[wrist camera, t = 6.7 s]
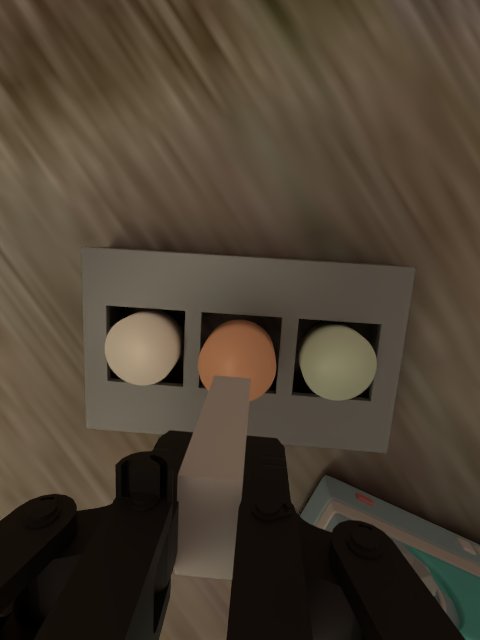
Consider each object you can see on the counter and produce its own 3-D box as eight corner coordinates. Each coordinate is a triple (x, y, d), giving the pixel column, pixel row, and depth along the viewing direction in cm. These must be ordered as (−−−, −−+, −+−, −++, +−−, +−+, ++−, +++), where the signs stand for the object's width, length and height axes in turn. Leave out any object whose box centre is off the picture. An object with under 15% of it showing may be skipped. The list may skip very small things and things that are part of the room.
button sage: (294, 382, 24) (298, 397, 22) (300, 319, 23) (305, 327, 21) (360, 387, 24) (371, 403, 22) (368, 323, 23) (381, 332, 21)
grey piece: (110, 403, 28) (86, 428, 24) (108, 247, 26) (80, 247, 22) (368, 423, 27) (387, 453, 23) (391, 264, 25) (416, 267, 21)
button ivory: (120, 369, 25) (105, 382, 22) (120, 306, 24) (103, 313, 21) (183, 374, 24) (175, 388, 22) (185, 311, 24) (176, 318, 21)
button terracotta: (203, 383, 23) (196, 400, 21) (206, 317, 22) (199, 325, 20) (271, 389, 23) (273, 406, 20) (277, 321, 22) (279, 331, 19)
